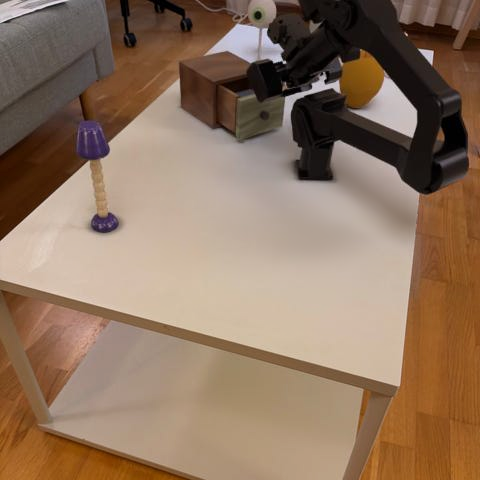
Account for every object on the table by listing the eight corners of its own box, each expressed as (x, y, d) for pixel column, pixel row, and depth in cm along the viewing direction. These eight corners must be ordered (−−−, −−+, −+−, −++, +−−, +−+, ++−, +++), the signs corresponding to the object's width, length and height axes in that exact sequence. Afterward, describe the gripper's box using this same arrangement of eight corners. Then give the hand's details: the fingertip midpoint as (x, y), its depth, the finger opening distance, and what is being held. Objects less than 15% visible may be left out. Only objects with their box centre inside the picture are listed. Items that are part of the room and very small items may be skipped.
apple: (385, 107, 114) (399, 52, 105) (358, 118, 109) (370, 62, 101) (352, 93, 119) (363, 39, 110) (325, 103, 114) (335, 48, 106)
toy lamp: (123, 217, 80) (108, 116, 68) (119, 234, 77) (102, 132, 65) (93, 216, 80) (73, 116, 68) (88, 234, 77) (66, 131, 65)
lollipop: (242, 63, 129) (245, -3, 118) (249, 54, 134) (253, -10, 123) (268, 67, 128) (273, 1, 117) (274, 58, 133) (280, -7, 122)
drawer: (286, 128, 103) (290, 90, 97) (242, 142, 98) (244, 103, 92) (248, 106, 109) (251, 69, 104) (206, 118, 104) (206, 80, 99)
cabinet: (259, 115, 108) (263, 69, 101) (213, 129, 103) (213, 81, 96) (226, 94, 115) (227, 50, 108) (180, 107, 110) (178, 61, 103)
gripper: (343, -8, 82) (292, 45, 96) (256, 8, 74) (214, 62, 88) (367, 57, 84) (314, 100, 98) (284, 79, 76) (239, 122, 90)
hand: (272, 95), depth 93 cm, fingers closed
